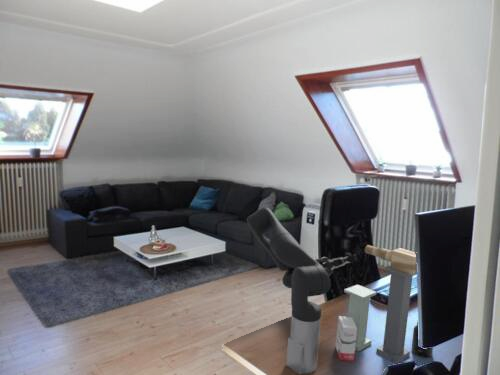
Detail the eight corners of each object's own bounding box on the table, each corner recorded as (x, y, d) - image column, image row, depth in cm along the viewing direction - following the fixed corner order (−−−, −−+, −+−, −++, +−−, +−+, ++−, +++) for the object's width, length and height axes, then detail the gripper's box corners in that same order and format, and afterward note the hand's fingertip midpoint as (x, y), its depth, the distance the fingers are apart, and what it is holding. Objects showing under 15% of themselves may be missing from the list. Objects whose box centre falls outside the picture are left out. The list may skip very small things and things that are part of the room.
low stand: (358, 351, 136) (363, 297, 133) (339, 341, 142) (344, 289, 139) (371, 344, 142) (376, 292, 139) (352, 334, 148) (357, 284, 145)
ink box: (354, 361, 131) (357, 328, 129) (339, 360, 131) (342, 327, 129) (349, 347, 139) (352, 316, 137) (335, 346, 139) (337, 315, 137)
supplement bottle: (414, 345, 143) (418, 314, 141) (434, 352, 138) (438, 320, 136) (408, 352, 137) (412, 320, 135) (429, 360, 133) (433, 327, 131)
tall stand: (397, 363, 131) (407, 274, 126) (376, 352, 137) (385, 267, 132) (409, 355, 136) (419, 270, 131) (388, 344, 142) (397, 263, 137)
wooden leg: (412, 274, 126) (415, 257, 125) (362, 258, 140) (364, 242, 140) (420, 271, 129) (422, 254, 128) (370, 255, 144) (372, 240, 143)
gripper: (304, 262, 156) (334, 252, 144) (327, 256, 165) (357, 246, 153) (310, 281, 154) (341, 272, 142) (333, 273, 163) (363, 265, 152)
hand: (349, 259), depth 148 cm, fingers open, 8 cm apart
